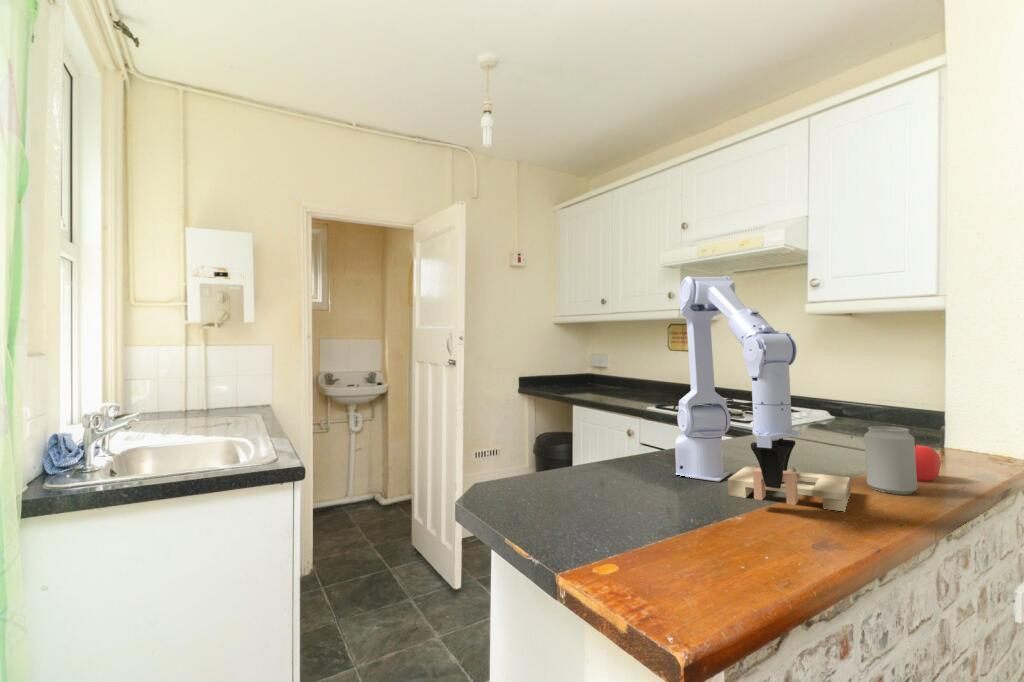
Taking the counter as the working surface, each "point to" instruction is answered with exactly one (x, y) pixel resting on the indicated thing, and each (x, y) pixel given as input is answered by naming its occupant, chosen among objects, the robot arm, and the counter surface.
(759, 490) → the pink arch
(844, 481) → the wooden slotted stand
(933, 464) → the apple
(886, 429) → the can
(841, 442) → the counter surface
